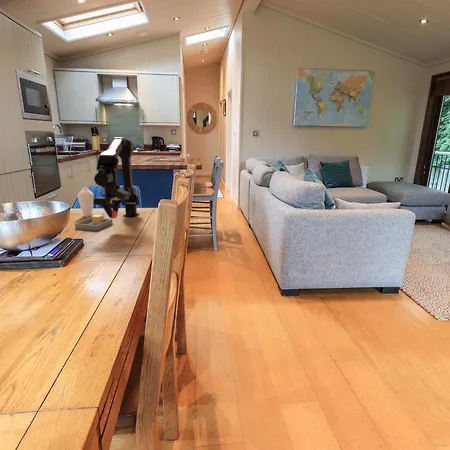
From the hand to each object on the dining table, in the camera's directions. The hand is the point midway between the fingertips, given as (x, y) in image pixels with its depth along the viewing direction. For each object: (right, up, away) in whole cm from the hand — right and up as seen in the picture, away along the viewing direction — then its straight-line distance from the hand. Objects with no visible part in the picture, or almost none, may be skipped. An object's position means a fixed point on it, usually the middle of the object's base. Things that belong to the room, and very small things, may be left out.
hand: (113, 216), depth 143 cm
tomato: (0, -1, 0) cm, 1 cm away
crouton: (-11, -3, +11) cm, 16 cm away
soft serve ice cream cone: (-24, +1, +27) cm, 36 cm away
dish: (-12, -5, +8) cm, 15 cm away
